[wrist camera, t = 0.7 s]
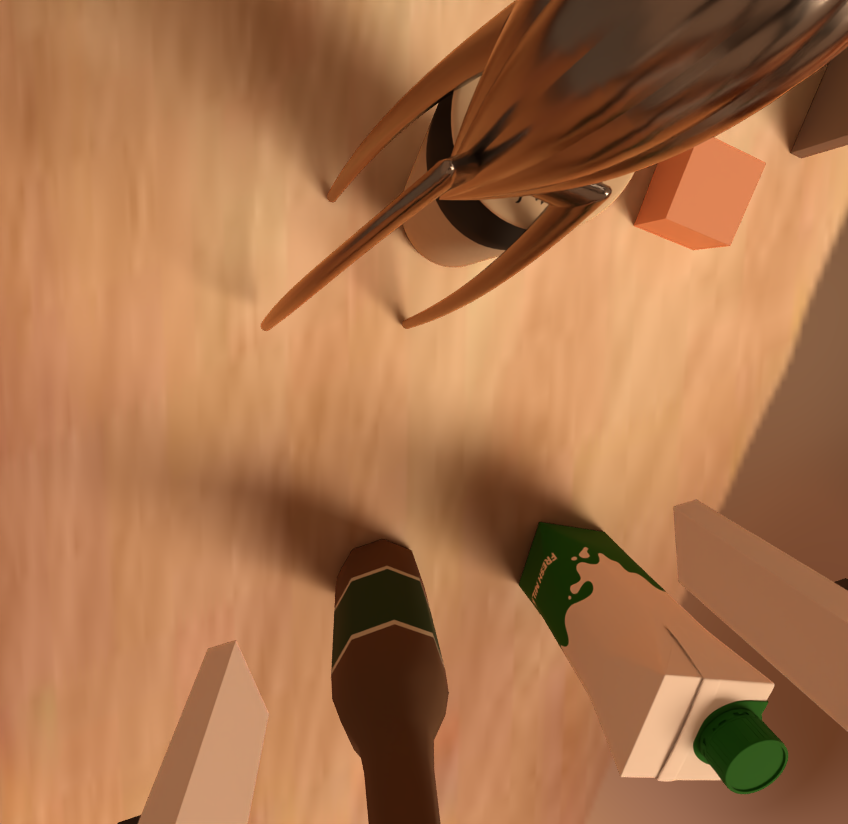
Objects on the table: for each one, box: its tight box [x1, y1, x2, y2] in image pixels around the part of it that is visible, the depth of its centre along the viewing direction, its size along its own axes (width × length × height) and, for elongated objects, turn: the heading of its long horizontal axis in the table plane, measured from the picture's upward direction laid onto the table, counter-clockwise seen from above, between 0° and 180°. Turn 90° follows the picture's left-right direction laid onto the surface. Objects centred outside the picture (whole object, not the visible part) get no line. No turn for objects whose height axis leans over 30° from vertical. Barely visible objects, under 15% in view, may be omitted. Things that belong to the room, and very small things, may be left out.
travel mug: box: [403, 76, 634, 267], centre depth 24 cm, size 8×8×18 cm
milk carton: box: [519, 522, 788, 794], centre depth 34 cm, size 9×9×20 cm
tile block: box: [634, 137, 766, 250], centre depth 34 cm, size 6×6×4 cm
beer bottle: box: [331, 539, 449, 824], centre depth 29 cm, size 8×8×24 cm
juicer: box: [261, 0, 848, 331], centre depth 19 cm, size 10×11×30 cm
